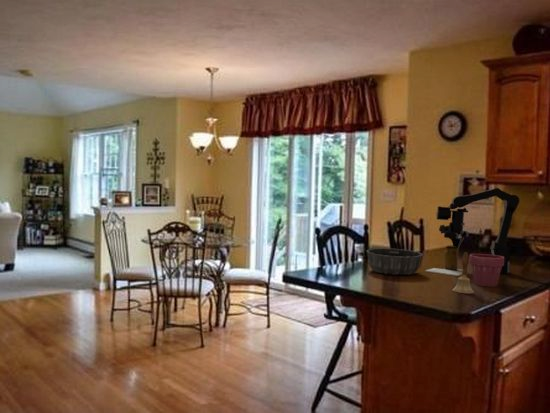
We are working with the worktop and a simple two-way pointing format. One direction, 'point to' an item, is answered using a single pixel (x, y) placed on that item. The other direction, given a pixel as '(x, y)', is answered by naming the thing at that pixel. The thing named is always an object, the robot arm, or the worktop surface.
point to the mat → (444, 272)
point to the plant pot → (486, 268)
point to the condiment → (451, 258)
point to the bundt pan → (394, 261)
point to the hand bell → (464, 278)
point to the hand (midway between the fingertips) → (455, 251)
